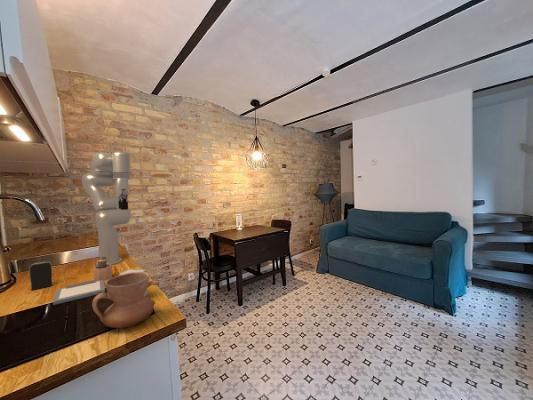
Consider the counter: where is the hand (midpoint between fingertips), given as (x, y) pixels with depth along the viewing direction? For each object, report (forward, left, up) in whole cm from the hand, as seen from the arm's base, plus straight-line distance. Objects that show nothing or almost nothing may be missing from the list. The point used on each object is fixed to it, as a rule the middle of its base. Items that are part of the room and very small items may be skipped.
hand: (123, 209), depth 117 cm
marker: (+4, -10, -33) cm, 35 cm away
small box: (+36, -1, -34) cm, 49 cm away
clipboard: (+16, -18, -33) cm, 41 cm away
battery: (-2, -32, -34) cm, 46 cm away
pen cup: (+4, -10, -33) cm, 35 cm away
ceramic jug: (+53, -5, -34) cm, 63 cm away
